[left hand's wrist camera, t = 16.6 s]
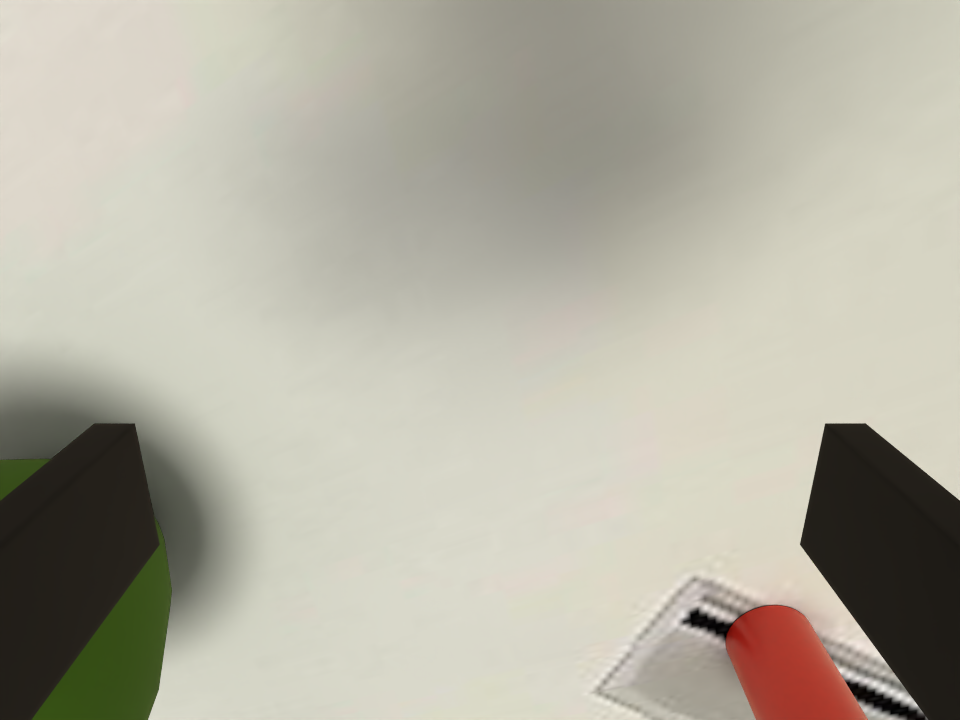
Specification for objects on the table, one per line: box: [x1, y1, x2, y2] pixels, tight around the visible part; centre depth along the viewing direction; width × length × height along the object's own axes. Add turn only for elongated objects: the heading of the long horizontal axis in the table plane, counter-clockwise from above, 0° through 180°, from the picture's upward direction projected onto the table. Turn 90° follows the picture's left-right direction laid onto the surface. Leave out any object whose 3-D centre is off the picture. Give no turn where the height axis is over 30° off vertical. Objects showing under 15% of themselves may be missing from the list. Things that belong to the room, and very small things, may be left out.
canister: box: [726, 605, 868, 720], centre depth 38 cm, size 6×6×12 cm
